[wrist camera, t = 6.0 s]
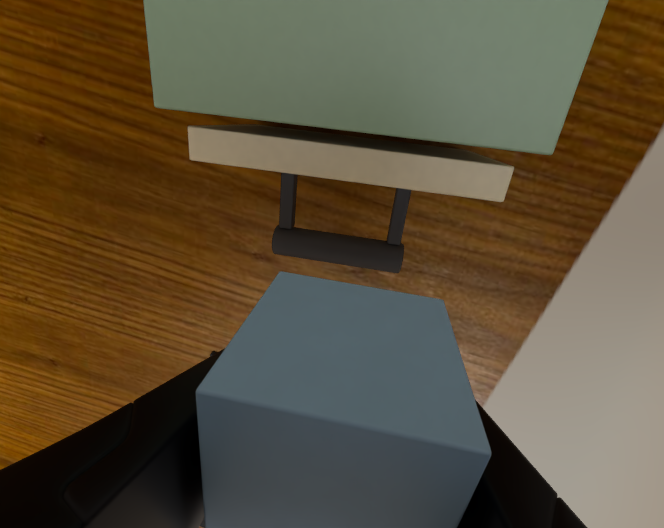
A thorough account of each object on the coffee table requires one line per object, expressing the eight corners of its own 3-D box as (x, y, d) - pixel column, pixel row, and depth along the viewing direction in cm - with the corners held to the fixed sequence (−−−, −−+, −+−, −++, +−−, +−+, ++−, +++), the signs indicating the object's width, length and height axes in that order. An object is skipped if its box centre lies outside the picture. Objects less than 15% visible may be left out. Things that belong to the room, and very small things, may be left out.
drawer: (442, 249, 19) (469, 309, 13) (253, 220, 20) (196, 264, 14) (561, -207, 12) (748, -554, 6) (257, -214, 13) (142, -516, 7)
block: (443, 298, 8) (494, 453, 4) (407, 419, 9) (422, 606, 6) (279, 270, 8) (193, 390, 5) (272, 391, 10) (205, 551, 6)
